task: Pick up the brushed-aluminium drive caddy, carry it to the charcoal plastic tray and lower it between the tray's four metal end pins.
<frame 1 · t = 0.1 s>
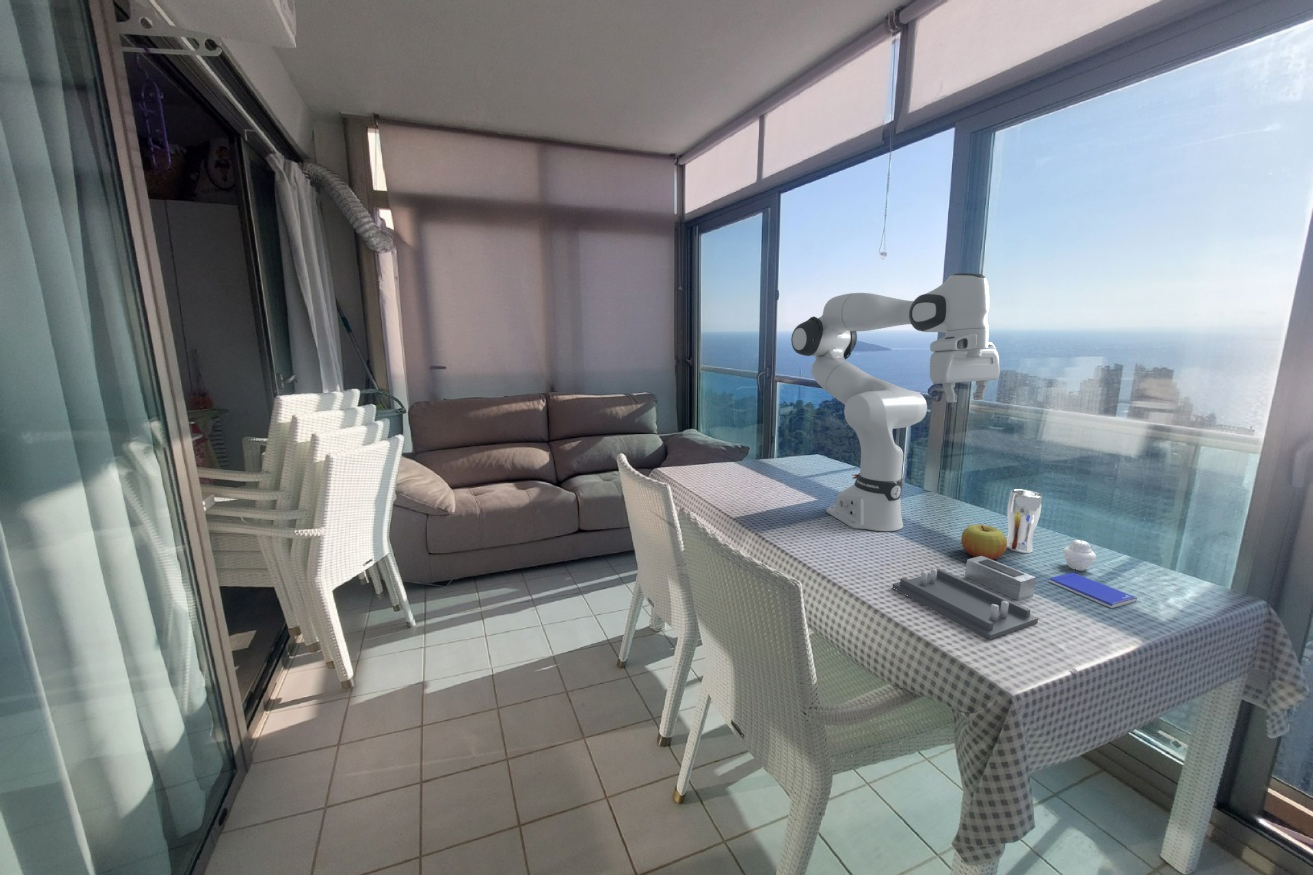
hand: (965, 401, 127), 39 cm above the table, tool pointing down, fingers open, 8 cm apart
beer glass: (1018, 549, 138), on the table
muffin: (1076, 568, 127), on the table
drive caddy: (997, 586, 118), on the table
apple: (981, 556, 133), on the table
tray: (960, 604, 110), on the table
hard drive: (1090, 594, 115), on the table
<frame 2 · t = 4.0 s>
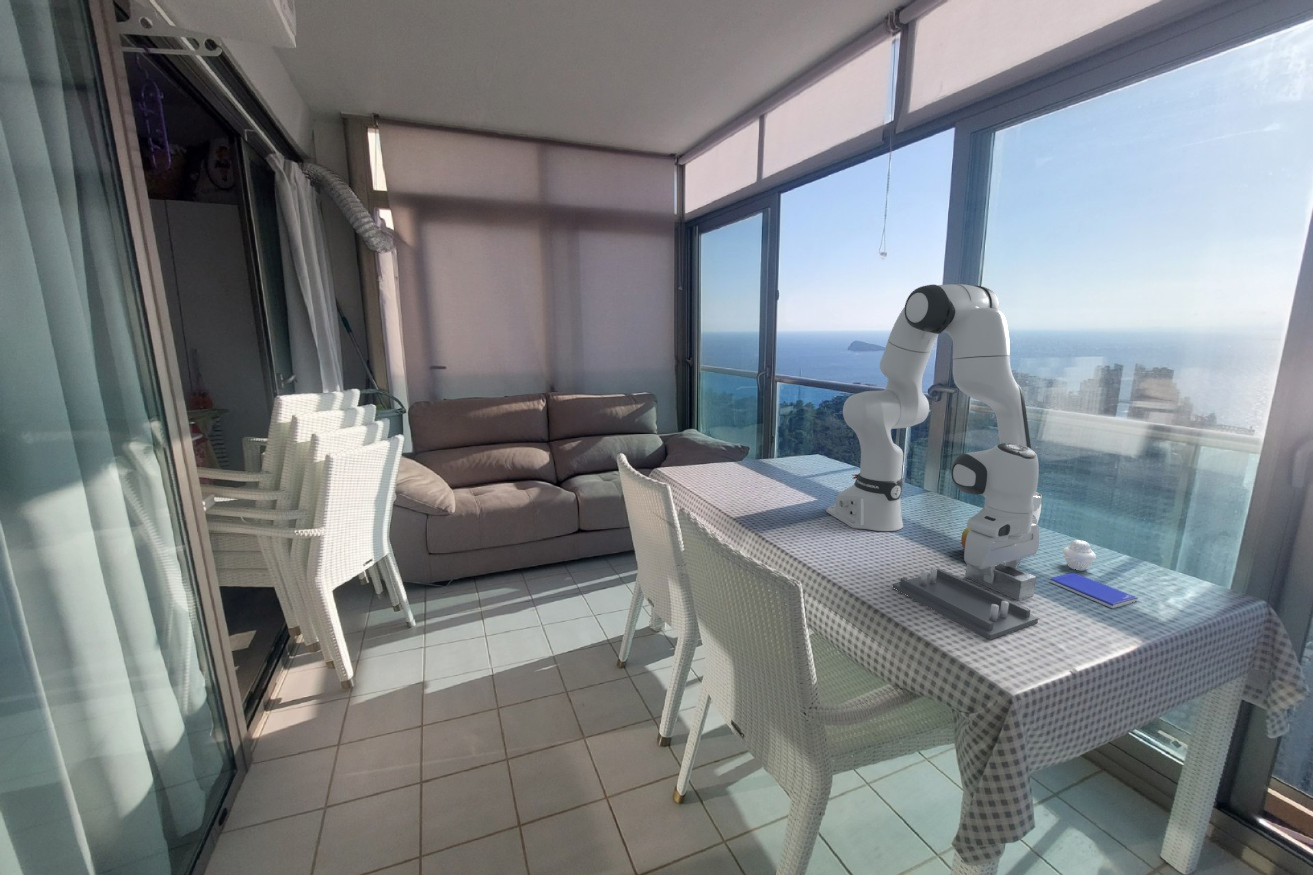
hand: (998, 578, 117), 2 cm above the table, tool pointing down, fingers closed on drive caddy, 5 cm apart
drive caddy: (998, 586, 118), on the table, touching gripper
everything else where it was.
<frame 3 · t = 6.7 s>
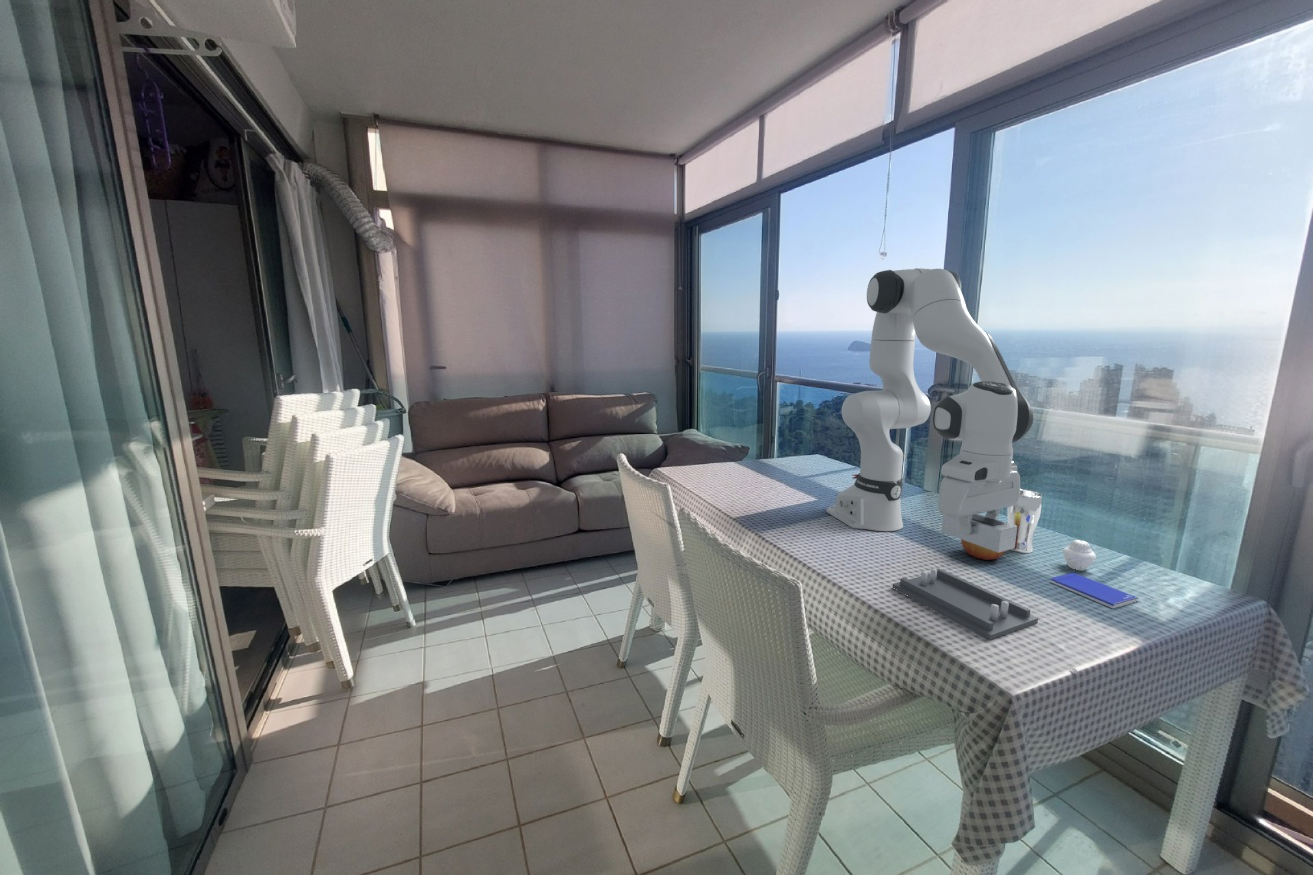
hand: (976, 531, 107), 16 cm above the table, tool pointing down, fingers closed on drive caddy, 5 cm apart
drive caddy: (976, 539, 108), point 14 cm above the table, touching gripper
everything else where it was.
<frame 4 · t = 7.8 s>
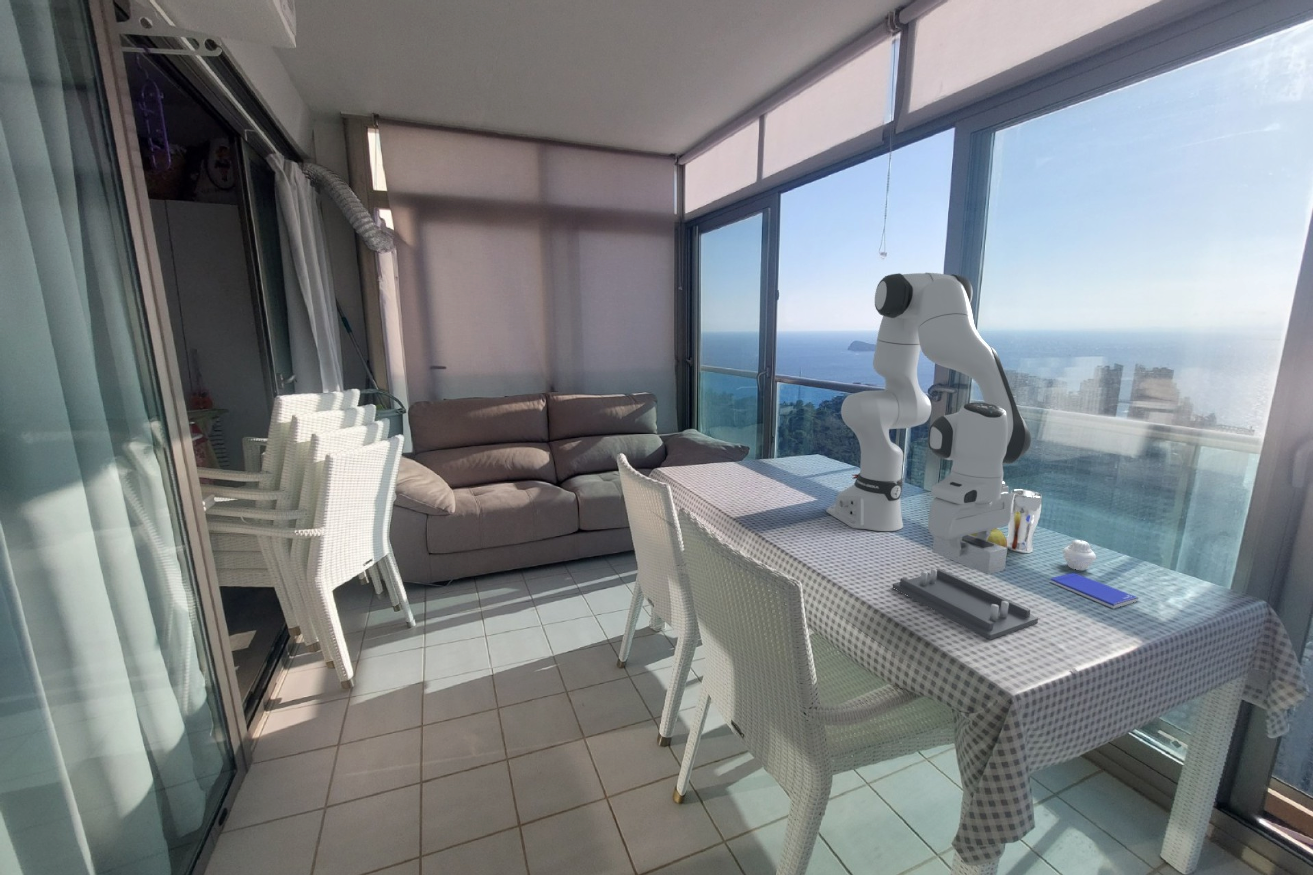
hand: (967, 552, 107), 12 cm above the table, tool pointing down, fingers closed on drive caddy, 5 cm apart
drive caddy: (966, 560, 108), point 10 cm above the table, touching gripper
everything else where it was.
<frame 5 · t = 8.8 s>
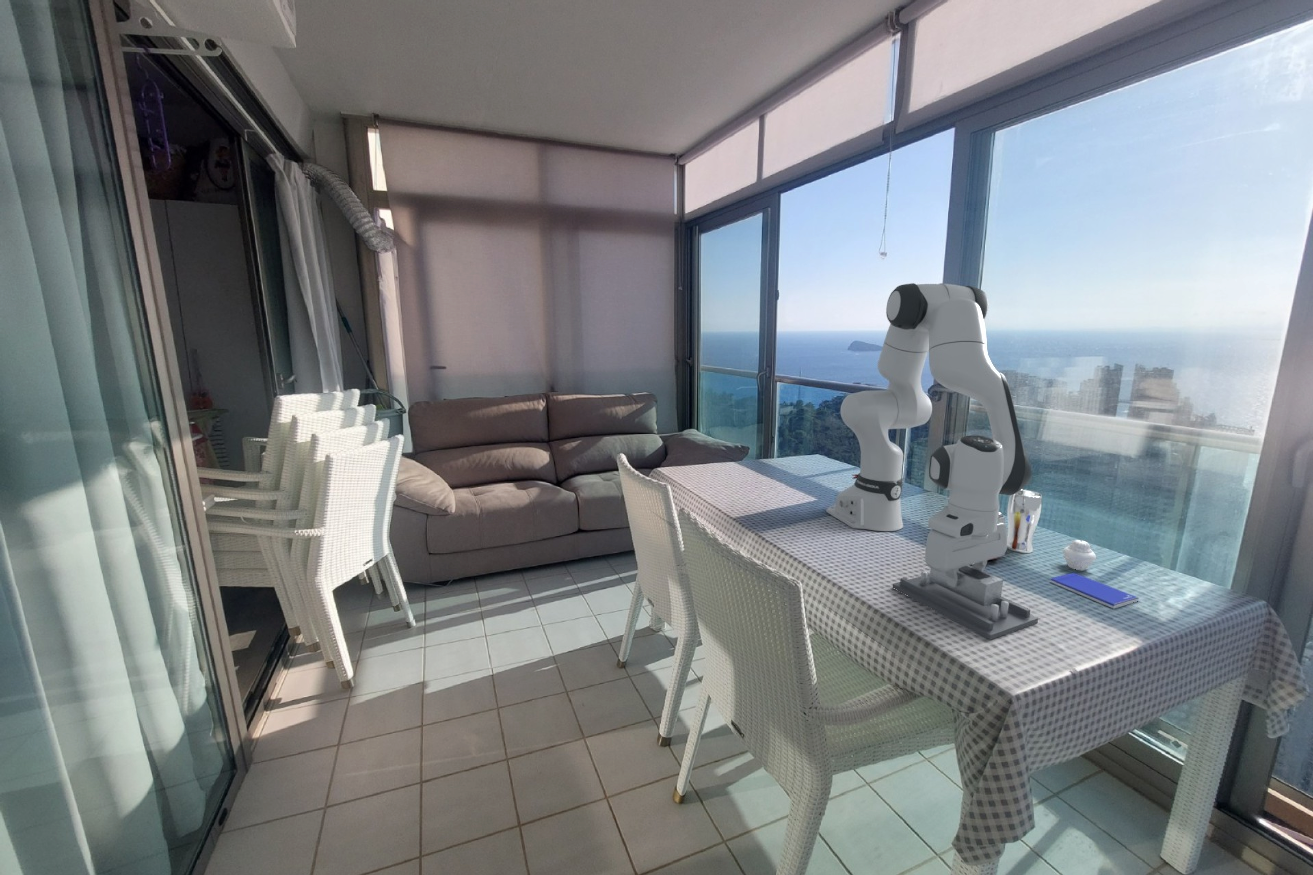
hand: (963, 582, 109), 5 cm above the table, tool pointing down, fingers closed on drive caddy, 5 cm apart
drive caddy: (963, 590, 109), point 3 cm above the table, touching gripper
everything else where it was.
when the fingers open (4 cm above the table, at t = 9.8 s): drive caddy drops 1 cm, resting on tray.
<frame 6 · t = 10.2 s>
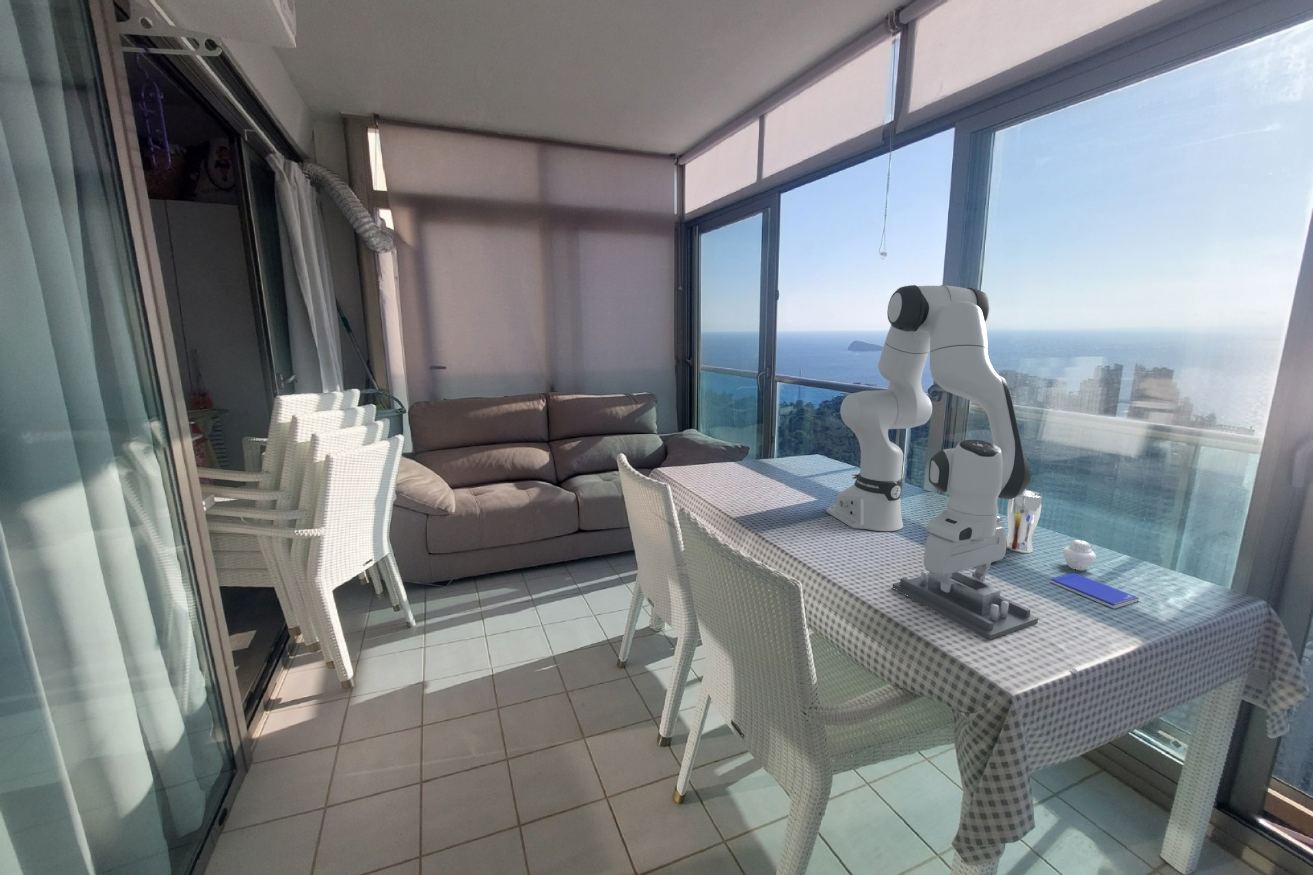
hand: (962, 585, 109), 4 cm above the table, tool pointing down, fingers open, 8 cm apart
drive caddy: (961, 599, 110), point 1 cm above the table, touching tray
everything else where it was.
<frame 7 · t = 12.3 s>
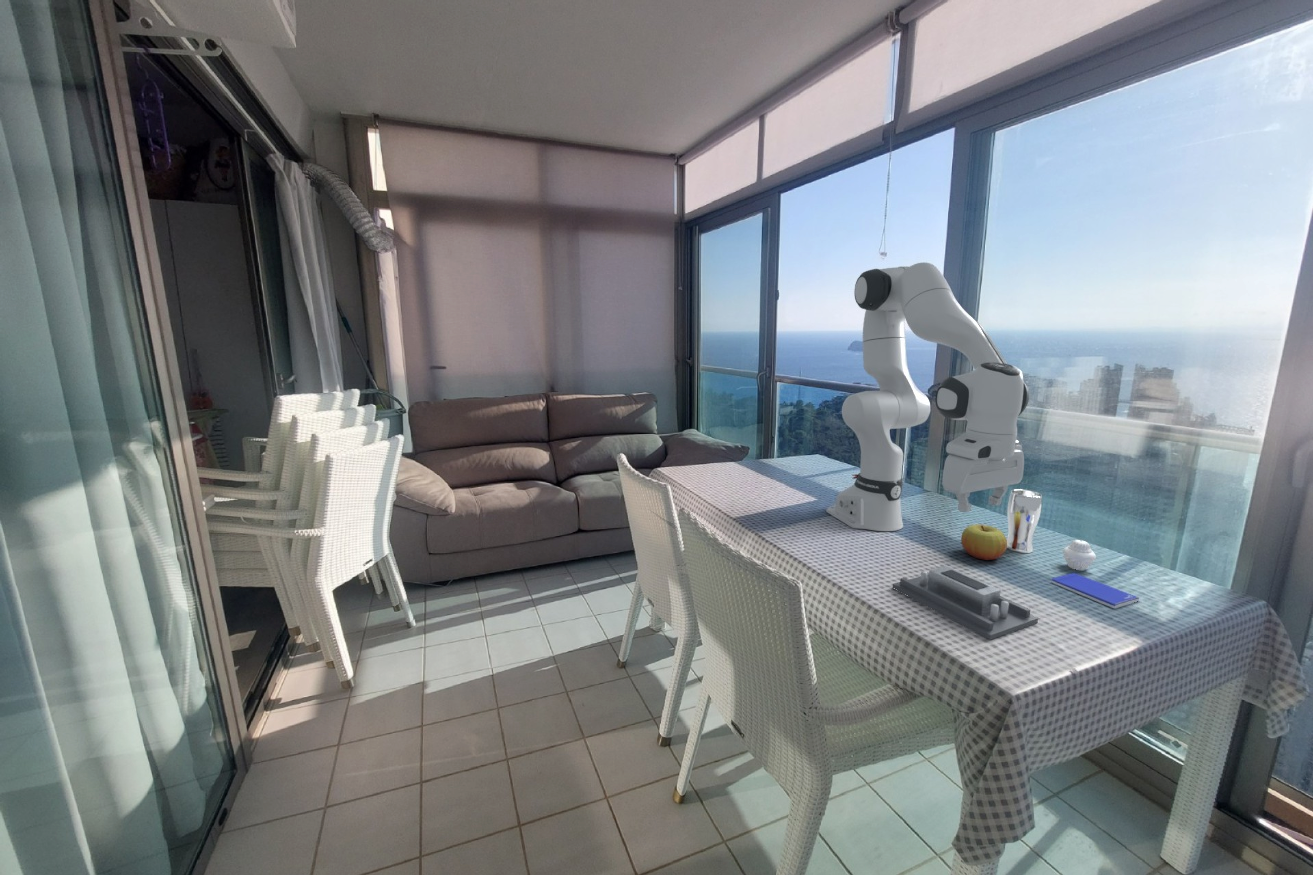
hand: (979, 507, 111), 19 cm above the table, tool pointing down, fingers open, 8 cm apart
nothing on the table moved.
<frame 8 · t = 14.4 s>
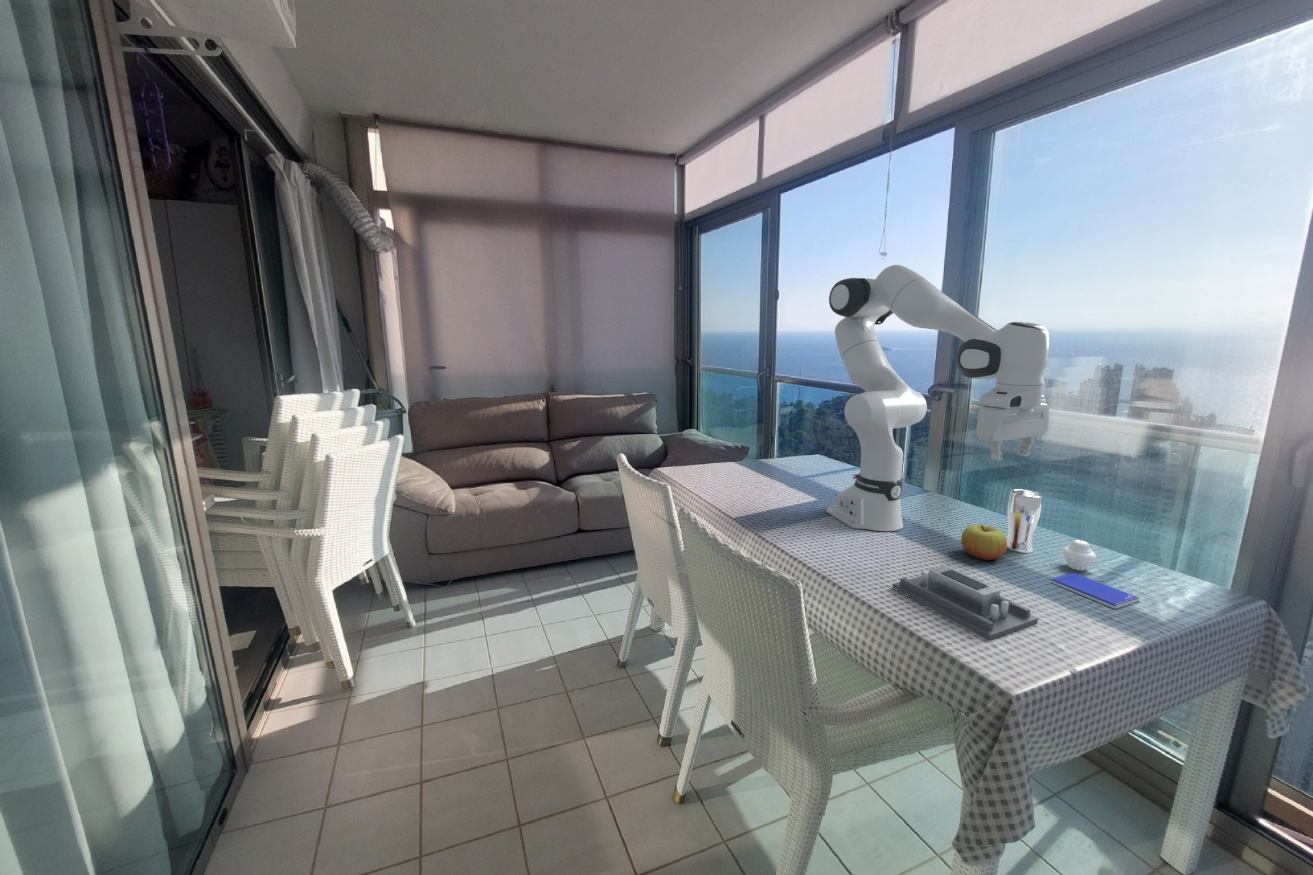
hand: (1009, 457, 121), 27 cm above the table, tool pointing down, fingers open, 8 cm apart
nothing on the table moved.
at the end: drive caddy 0.1 cm off-centre on the tray, point 1.0 cm above the tray's base; drive caddy tilted 0°; the gripper is holding nothing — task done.
